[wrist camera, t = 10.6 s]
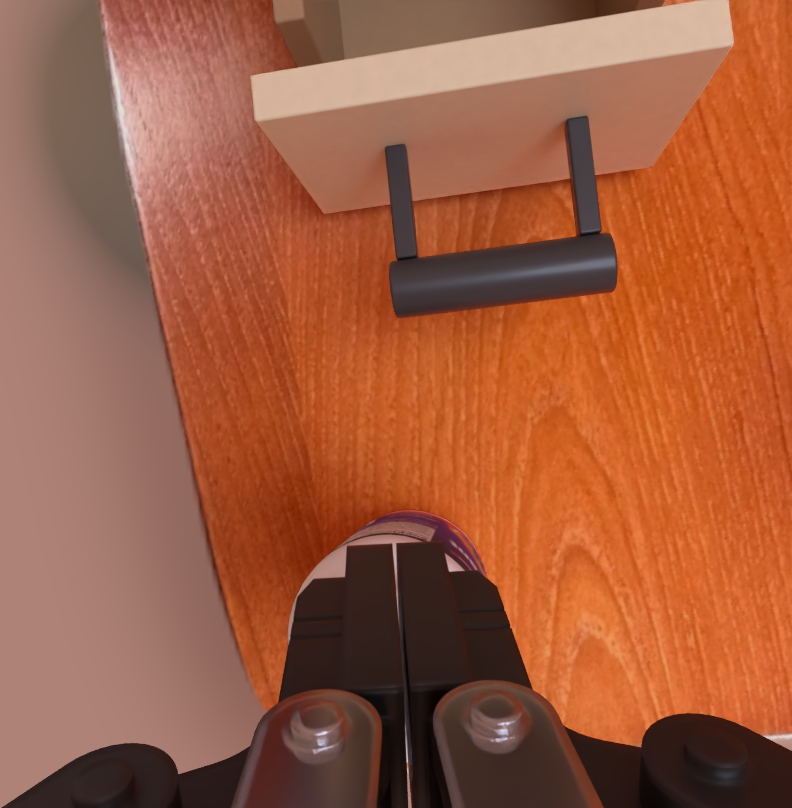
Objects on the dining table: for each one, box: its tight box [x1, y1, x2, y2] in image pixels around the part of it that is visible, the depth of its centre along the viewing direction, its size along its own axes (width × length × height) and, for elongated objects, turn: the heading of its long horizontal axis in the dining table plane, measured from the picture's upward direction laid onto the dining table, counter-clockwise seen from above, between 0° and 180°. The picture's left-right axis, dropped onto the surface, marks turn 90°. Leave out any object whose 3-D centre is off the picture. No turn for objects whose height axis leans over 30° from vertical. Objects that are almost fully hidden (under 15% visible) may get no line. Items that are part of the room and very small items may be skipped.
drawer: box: [250, 0, 734, 318], centre depth 21 cm, size 18×11×8 cm, turn 6°
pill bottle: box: [288, 510, 487, 762], centre depth 21 cm, size 5×5×10 cm
